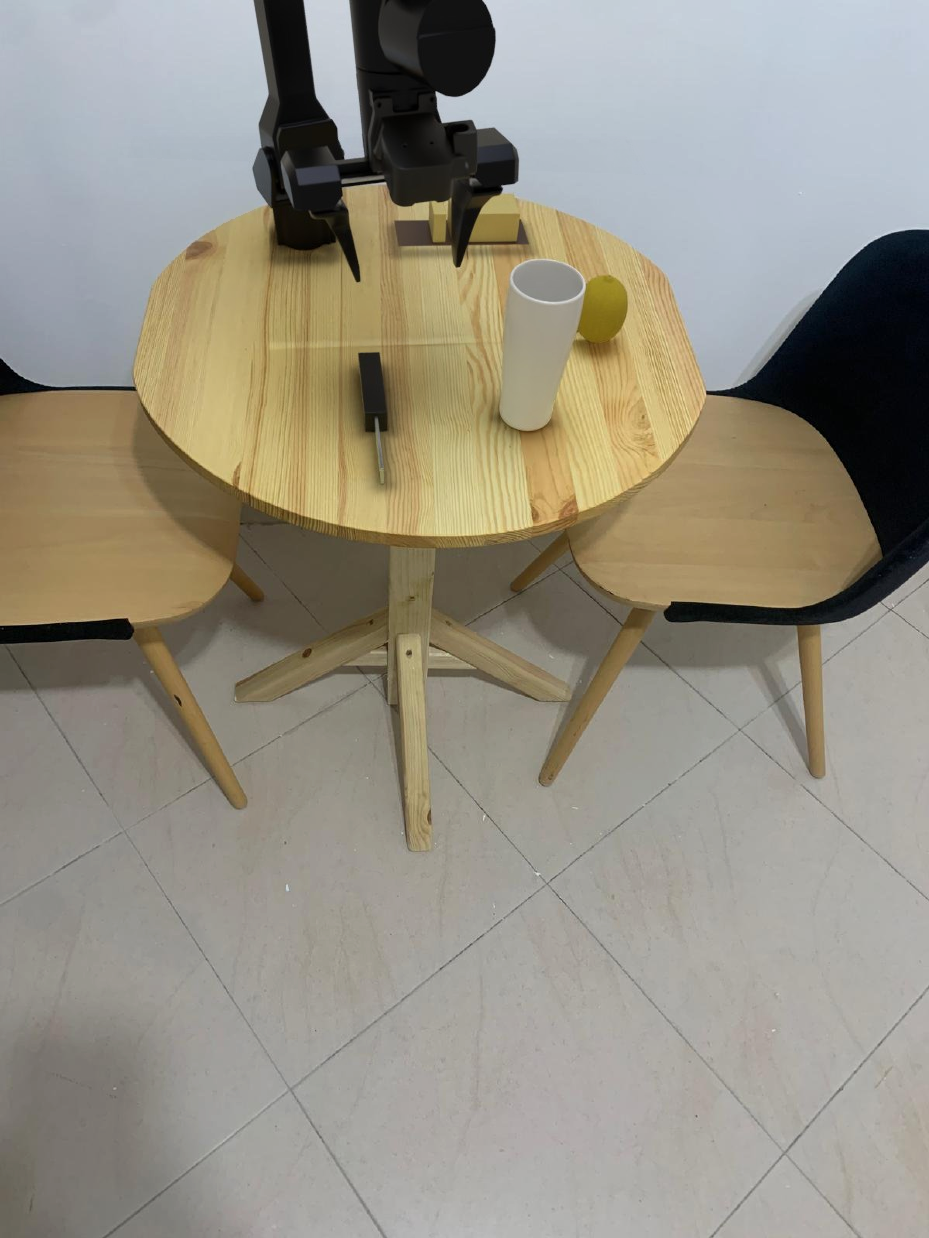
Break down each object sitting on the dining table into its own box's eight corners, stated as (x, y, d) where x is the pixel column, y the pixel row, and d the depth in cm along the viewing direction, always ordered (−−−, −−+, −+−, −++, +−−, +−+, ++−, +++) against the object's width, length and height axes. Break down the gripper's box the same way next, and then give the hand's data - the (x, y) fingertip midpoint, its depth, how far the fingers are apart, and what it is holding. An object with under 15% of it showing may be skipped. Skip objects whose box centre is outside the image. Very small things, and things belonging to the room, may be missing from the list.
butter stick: (451, 242, 93) (453, 214, 90) (447, 222, 95) (448, 193, 92) (516, 241, 94) (520, 213, 91) (510, 221, 96) (513, 193, 94)
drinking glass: (499, 442, 76) (518, 306, 64) (485, 396, 80) (500, 259, 67) (565, 436, 77) (597, 301, 65) (548, 390, 81) (575, 255, 68)
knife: (370, 484, 72) (369, 466, 70) (359, 371, 80) (358, 352, 78) (394, 483, 72) (394, 464, 70) (380, 371, 81) (379, 351, 79)
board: (398, 254, 93) (398, 246, 92) (394, 228, 96) (394, 220, 95) (528, 252, 95) (529, 244, 94) (520, 226, 98) (521, 219, 97)
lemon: (620, 360, 84) (638, 294, 78) (569, 356, 84) (584, 290, 77) (615, 328, 87) (633, 262, 81) (567, 325, 87) (580, 258, 80)
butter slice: (432, 243, 93) (433, 214, 90) (428, 222, 95) (429, 193, 92) (445, 242, 93) (446, 214, 90) (440, 222, 95) (441, 193, 92)
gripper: (285, 107, 51) (320, 331, 62) (549, 80, 54) (537, 297, 66) (263, 65, 58) (299, 274, 69) (498, 44, 61) (495, 245, 73)
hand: (407, 273), depth 69 cm, fingers open, 9 cm apart
